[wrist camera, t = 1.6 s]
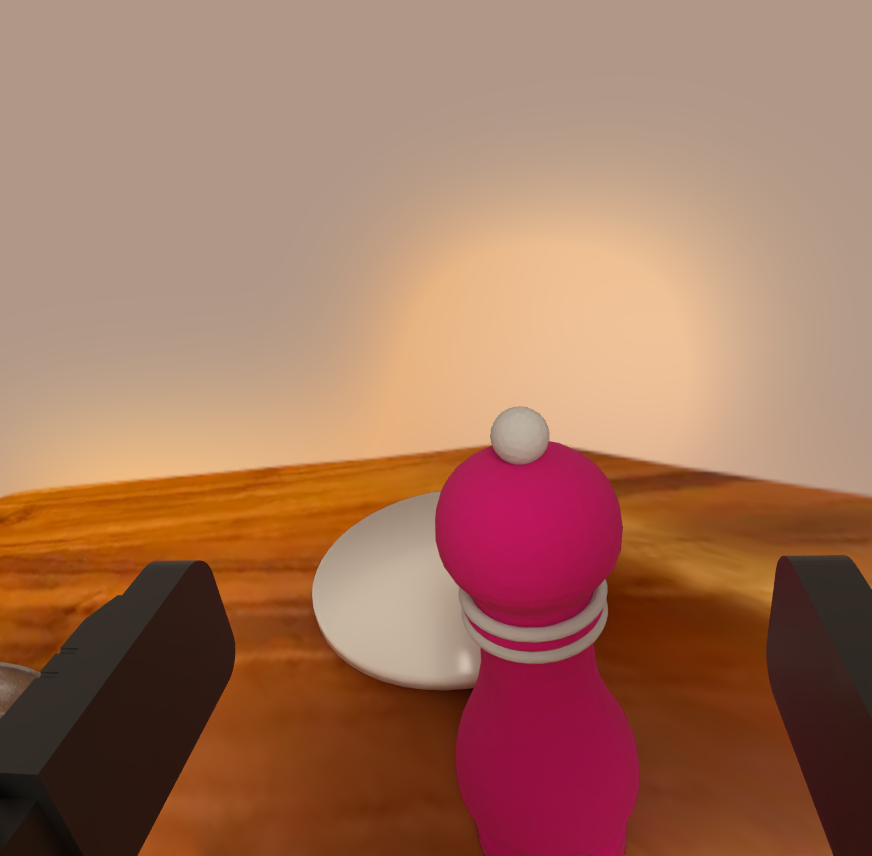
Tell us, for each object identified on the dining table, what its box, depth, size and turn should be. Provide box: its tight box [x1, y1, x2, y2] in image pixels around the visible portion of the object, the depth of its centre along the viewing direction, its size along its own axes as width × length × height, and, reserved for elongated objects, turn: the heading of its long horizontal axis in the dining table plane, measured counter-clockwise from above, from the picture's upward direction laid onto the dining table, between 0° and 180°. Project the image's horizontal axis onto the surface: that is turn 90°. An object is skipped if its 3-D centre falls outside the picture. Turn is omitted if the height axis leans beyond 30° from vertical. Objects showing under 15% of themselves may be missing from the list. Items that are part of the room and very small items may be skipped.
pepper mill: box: [435, 407, 640, 856], centre depth 25 cm, size 7×7×20 cm
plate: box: [312, 491, 481, 690], centre depth 43 cm, size 18×18×2 cm
